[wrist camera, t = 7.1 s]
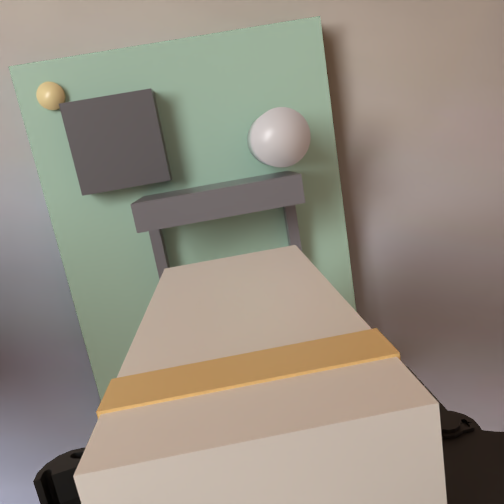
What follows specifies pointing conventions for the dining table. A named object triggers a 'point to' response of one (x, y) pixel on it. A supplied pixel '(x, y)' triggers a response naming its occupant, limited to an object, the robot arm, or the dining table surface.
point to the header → (218, 206)
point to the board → (179, 161)
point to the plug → (261, 398)
